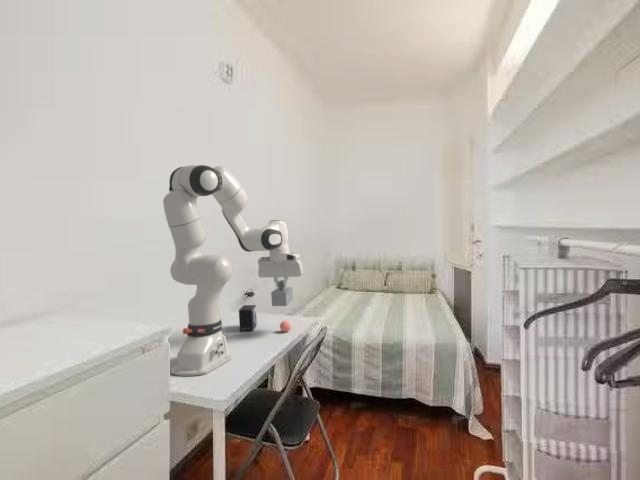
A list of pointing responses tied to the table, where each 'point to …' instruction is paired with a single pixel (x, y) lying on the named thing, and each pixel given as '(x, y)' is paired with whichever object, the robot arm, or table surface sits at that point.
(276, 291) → the gray hook block
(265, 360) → the table surface
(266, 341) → the table surface
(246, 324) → the small box
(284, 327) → the ball
